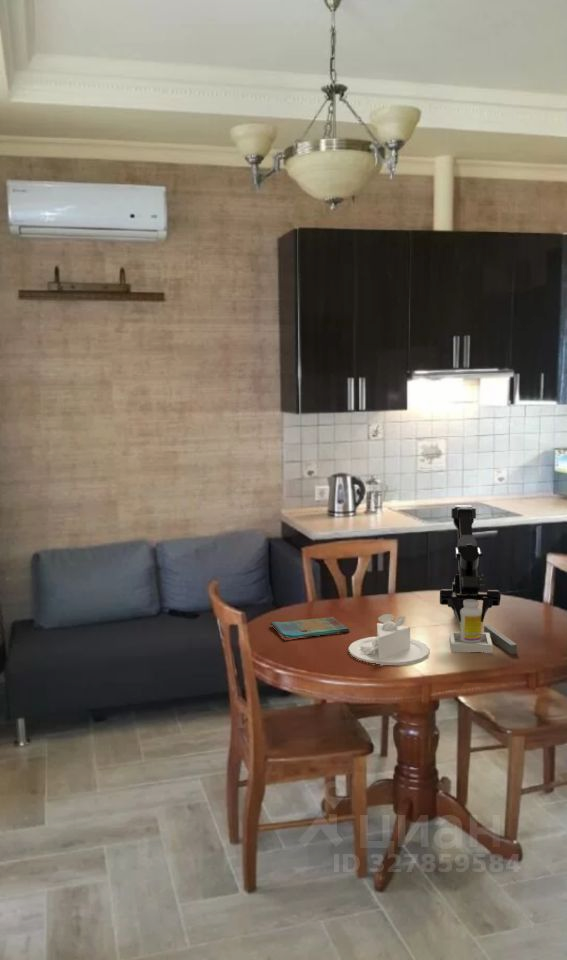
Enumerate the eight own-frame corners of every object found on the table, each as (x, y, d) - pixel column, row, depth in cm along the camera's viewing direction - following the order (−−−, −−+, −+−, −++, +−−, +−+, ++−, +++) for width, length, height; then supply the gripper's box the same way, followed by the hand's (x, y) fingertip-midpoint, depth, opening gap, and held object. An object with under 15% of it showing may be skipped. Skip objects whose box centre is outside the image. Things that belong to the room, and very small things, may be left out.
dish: (364, 636, 264) (364, 603, 262) (438, 645, 253) (438, 611, 251) (336, 659, 242) (336, 623, 240) (416, 671, 231) (416, 633, 229)
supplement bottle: (485, 642, 249) (486, 602, 247) (468, 645, 246) (469, 605, 244) (471, 636, 255) (472, 597, 253) (455, 639, 252) (455, 599, 250)
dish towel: (269, 628, 276) (269, 620, 276) (332, 620, 283) (332, 613, 283) (284, 643, 260) (283, 635, 259) (350, 634, 267) (350, 627, 266)
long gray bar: (516, 654, 242) (516, 644, 242) (510, 654, 242) (510, 645, 241) (489, 634, 262) (489, 625, 261) (483, 634, 261) (484, 625, 261)
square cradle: (451, 651, 245) (451, 644, 245) (449, 639, 258) (449, 631, 257) (492, 653, 243) (492, 645, 243) (489, 640, 256) (489, 632, 255)
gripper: (439, 564, 253) (441, 608, 244) (500, 565, 250) (503, 609, 240) (439, 582, 262) (440, 625, 252) (497, 583, 259) (500, 626, 249)
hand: (470, 621), depth 248 cm, fingers closed on supplement bottle, 6 cm apart
